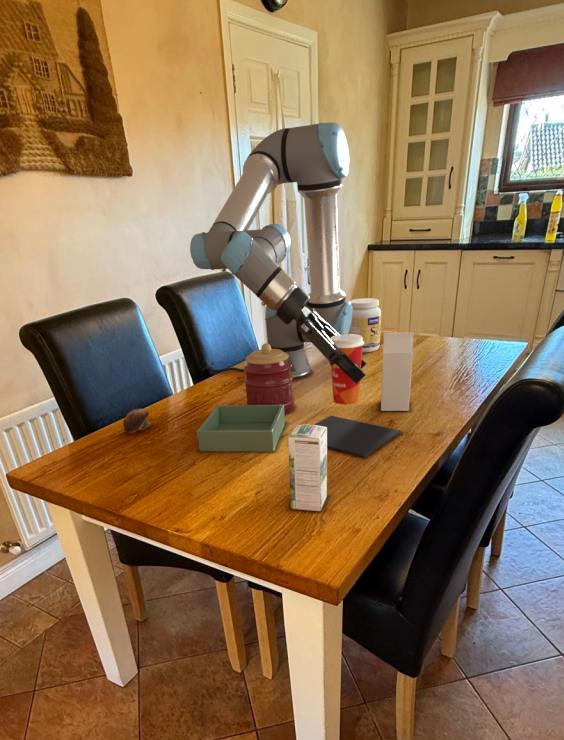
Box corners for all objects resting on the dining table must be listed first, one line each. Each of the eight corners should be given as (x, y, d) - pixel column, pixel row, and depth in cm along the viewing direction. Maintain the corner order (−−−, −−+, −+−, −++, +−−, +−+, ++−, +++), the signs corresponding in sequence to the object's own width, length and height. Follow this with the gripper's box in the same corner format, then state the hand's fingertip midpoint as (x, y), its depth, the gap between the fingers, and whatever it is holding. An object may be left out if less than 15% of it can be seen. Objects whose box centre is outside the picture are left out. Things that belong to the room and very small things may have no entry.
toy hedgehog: (161, 414, 134) (143, 398, 131) (149, 436, 130) (130, 419, 127) (145, 424, 139) (127, 408, 136) (132, 445, 135) (113, 430, 132)
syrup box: (298, 494, 99) (294, 423, 92) (328, 496, 97) (327, 424, 90) (290, 509, 94) (286, 435, 87) (322, 512, 93) (320, 437, 85)
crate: (199, 451, 120) (196, 431, 118) (219, 423, 135) (216, 405, 132) (273, 451, 117) (272, 431, 114) (285, 422, 132) (284, 404, 129)
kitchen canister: (301, 403, 144) (298, 338, 135) (282, 419, 134) (278, 350, 125) (260, 399, 149) (254, 337, 140) (239, 415, 139) (231, 348, 130)
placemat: (292, 438, 123) (292, 436, 122) (330, 417, 133) (330, 415, 132) (364, 457, 111) (364, 455, 110) (400, 433, 121) (400, 430, 120)
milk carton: (408, 411, 132) (414, 335, 123) (380, 411, 134) (383, 336, 124) (408, 402, 138) (413, 329, 129) (381, 402, 140) (384, 329, 130)
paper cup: (326, 396, 120) (325, 335, 113) (358, 393, 121) (359, 332, 113) (332, 407, 114) (331, 343, 106) (366, 404, 114) (368, 339, 107)
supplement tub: (371, 354, 182) (373, 304, 174) (340, 352, 188) (340, 303, 180) (385, 346, 191) (387, 297, 182) (355, 344, 197) (355, 297, 188)
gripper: (281, 304, 119) (351, 372, 124) (265, 322, 101) (347, 400, 107) (303, 277, 115) (374, 349, 120) (290, 292, 98) (374, 374, 103)
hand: (361, 373), depth 113 cm, fingers closed on paper cup, 8 cm apart
